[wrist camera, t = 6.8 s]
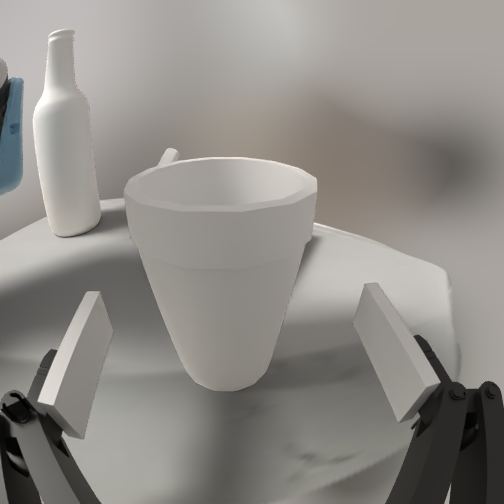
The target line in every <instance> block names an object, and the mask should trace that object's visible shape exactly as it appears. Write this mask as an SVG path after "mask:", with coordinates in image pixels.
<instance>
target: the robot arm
mask: <svg viewBox="0 0 504 504" xmlns="http://www.w3.org/2000/svg"><path fill="white" fill-rule="evenodd" d="M23 83H24V81H23V79H22V78H14V77H13V78H11V79H10V80H8V73H7V66H6V63H5V62H4V60H2V59H0V196H1V195H3V194H5V193H7V192H10V191H12V190H14V189H15V188H16V187H17V186H18V185H19V184H20V182H21V180H22V176H23V152H22V112H23ZM353 325H354V327H355V329H356V331H357V334H358V336H359V338H360V340H361V342H362V344H363V346H364V348H365V350H366V352H367V354H368V356H369V359H370V361H371V363H372V365H373V367H374V369H375V371H376V374H377V376H378V378H379V380H380V382H381V384H382V387H383V389H384V391H385V393H386V396H387V398H388V400H389V402H390V405H391V407H392V409H393V412H394V414H395V416H396V419H397V421H398V423H400V422H403V421H406V420H409V419H412V418H413V417H414V416H415V414H416V413H417V412H419V414H420V416H421V417H420V418H419V419H418V420H417V421H416V422H415V423H414V424H413V426H412V427H411V429H412V430H413V429H414V428H415V426H416V428H415V431H414V434H413V437H412V440H411V443H410V446H409V449H408V452H407V455H406V457H405V460H404V462H403V465H402V467H401V470H400V472H399V475H398V477H397V479H396V482H395V484H394V486H393V489H392V491H391V493H390V495H389V497H388V499H387V501H386V503H385V504H444V502H445V499H446V496H447V493H448V490H449V487H450V484H451V492H450V501H449V504H504V406H503V401H502V395H501V391H500V389H499V387H498V386H497V385H496V384H495V383H493V382H490V381H487V382H484V383H483V384H482V385H481V386H480V387H479V389H466V388H465V387H464V386H463V385H462V384H460V383H458V382H452V381H451V379H450V378H449V376H448V374H447V373H446V371H445V369H444V368H443V366H442V364H441V363H440V361H439V360H438V358H436V355H435V353H434V352H433V351H432V348H431V347H430V345H429V344H428V342H427V341H426V340H425V339H423V338H422V337H421V336H420V335H416V336H413V335H412V334H411V332H410V331H409V329H408V328H407V326H406V324H405V323H404V321H403V320H402V318H401V317H400V315H399V314H398V312H397V311H396V309H395V308H394V306H393V305H392V303H391V302H390V300H389V299H388V297H387V296H386V295H385V293H384V292H383V290H382V289H381V287H380V286H379V284H378V283H368V284H364V288H363V291H362V295H361V298H360V301H359V305H358V308H357V311H356V314H355V318H354V321H353ZM113 333H114V331H113V328H112V325H111V322H110V320H109V317H108V314H107V311H106V308H105V305H104V302H103V299H102V296H101V292H100V291H87V292H86V294H85V296H84V298H83V300H82V302H81V303H80V305H79V307H78V309H77V311H76V313H75V315H74V317H73V319H72V321H71V323H70V325H69V327H68V330H67V332H66V334H65V336H64V338H63V340H62V342H61V345H60V347H59V349H58V350H53V349H51V350H50V351H49V352H48V353H47V354H46V355H45V356H44V358H43V360H42V362H41V364H40V368H39V369H38V371H37V375H36V376H35V378H34V381H33V383H32V385H31V388H30V390H29V393H28V396H27V398H26V397H25V396H24V395H23V394H22V393H21V392H20V391H17V390H12V391H9V392H8V393H6V394H5V395H4V396H3V398H2V399H1V402H0V410H1V411H2V412H0V504H42V503H41V499H40V496H41V498H42V500H43V502H44V504H101V503H100V501H99V500H98V498H97V497H96V495H95V494H94V492H93V491H92V489H91V487H90V486H89V484H88V483H87V481H86V479H85V478H84V476H83V474H82V473H81V471H80V469H79V467H78V466H77V464H76V462H75V460H74V458H73V457H72V455H71V453H70V451H69V449H68V447H67V445H66V443H65V441H64V439H63V438H62V437H61V435H62V431H64V432H65V433H66V434H67V435H68V436H70V437H74V438H79V439H83V440H84V436H85V432H86V427H87V423H88V419H89V415H90V411H91V407H92V403H93V399H94V395H95V392H96V388H97V384H98V381H99V377H100V374H101V371H102V367H103V364H104V361H105V357H106V354H107V351H108V348H109V345H110V342H111V339H112V336H113ZM39 494H40V495H39Z"/></svg>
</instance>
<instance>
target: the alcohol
mask: <svg viewBox="0 0 504 504" xmlns="http://www.w3.org/2000/svg"><path fill="white" fill-rule="evenodd" d="M74 33H75V31H74V30H72V29H61V30H57V31H54V32H52V33H51V34H50V35H49V36H48V39H49V42H48V46H49V47H48V55H47V64H46V74H45V88H44V92H43V95H42V97H41V99H40V101H39V102H38V104H37V106H36V108H35V110H34V116H33V132H34V142H35V151H36V158H37V165H38V171H39V178H40V183H41V188H42V194H43V199H44V204H45V208H46V213H47V217H48V221H49V225H50V229H51V231H52V232H54V233H55V234H56V235H57V236H60V237H70V236H75V235H79V234H82V233H85V232H87V231H89V230H91V229H92V228H94V227H95V226H96V225H97V224H98V223H99V221H100V218H101V215H102V214H101V208H100V203H99V196H98V191H97V184H96V175H95V167H94V160H93V149H92V139H91V125H90V108H89V105H88V101H87V98H86V97H85V95H84V94H83V93H82V92H81V91H80V90H79V89H78V88H77V85H76V82H75V73H74V57H73V41H74V37H73V34H74Z"/></svg>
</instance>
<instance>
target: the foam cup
mask: <svg viewBox="0 0 504 504" xmlns="http://www.w3.org/2000/svg"><path fill="white" fill-rule="evenodd" d="M123 192H124V200H125V207H126V214H127V220H128V227H129V233H130V238H131V239H132V240H133V241H134V243H135V244H136V245H137V247H138V250H139V253H140V257H141V260H142V263H143V265H144V268H145V271H146V274H147V277H148V280H149V283H150V286H151V288H152V291H153V294H154V296H155V299H156V302H157V304H158V307H159V310H160V312H161V315H162V317H163V320H164V322H165V325H166V327H167V330H168V332H169V335H170V337H171V339H172V342H173V344H174V346H175V349H176V351H177V353H178V356H179V358H180V360H181V363H182V365H183V366H184V367H185V370H186V372H187V373H188V374H189V375H190V376H191V378H192V379H193V380H194V381H195V382H196V383H197V384H199V385H202V386H204V387H206V388H208V389H211V390H213V391H238V390H241V389H243V388H246V387H249V386H251V385H254V384H255V383H256V382H257V381H258V380H259V379H260V378H261V377H262V376H263V375H264V374H265V373H266V372H267V368H268V367H269V364H270V361H271V358H272V355H273V352H274V349H275V345H276V342H277V339H278V336H279V333H280V330H281V327H282V323H283V320H284V317H285V314H286V310H287V307H288V304H289V301H290V297H291V294H292V290H293V287H294V284H295V280H296V277H297V273H298V270H299V266H300V263H301V259H302V256H303V252H304V249H305V245H306V243H307V242H309V241H310V240H311V238H312V230H313V223H314V215H315V206H316V197H317V179H316V178H315V177H313V176H311V175H310V174H308V173H307V172H305V171H304V170H302V169H300V168H297V167H293V166H290V165H286V164H283V163H279V162H275V161H268V160H261V159H253V158H244V157H208V158H199V159H191V160H182V161H176V162H172V163H168V164H164V165H160V166H156V167H153V168H149V169H147V170H145V171H143V172H142V173H140V174H138V175H136V176H134V177H132V178H130V179H129V181H128V183H127V185H126V187H125V189H124V191H123Z"/></svg>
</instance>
